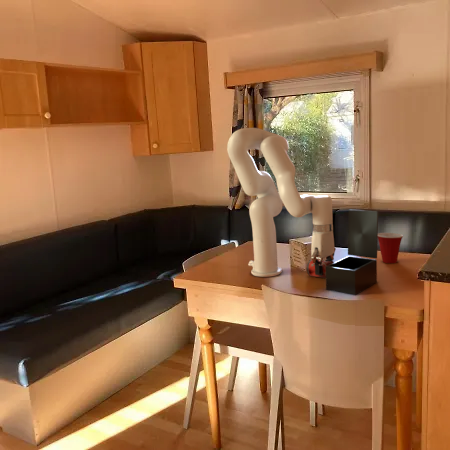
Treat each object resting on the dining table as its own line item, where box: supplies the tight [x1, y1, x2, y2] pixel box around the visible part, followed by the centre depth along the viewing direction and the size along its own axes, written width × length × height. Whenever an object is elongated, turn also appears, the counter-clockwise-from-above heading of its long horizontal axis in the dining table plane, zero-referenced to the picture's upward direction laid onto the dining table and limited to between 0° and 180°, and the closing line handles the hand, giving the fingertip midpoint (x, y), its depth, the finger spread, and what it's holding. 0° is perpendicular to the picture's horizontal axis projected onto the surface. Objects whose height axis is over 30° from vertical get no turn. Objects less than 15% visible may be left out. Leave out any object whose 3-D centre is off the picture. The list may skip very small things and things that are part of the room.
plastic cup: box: [378, 232, 404, 264], centre depth 209 cm, size 11×11×12 cm
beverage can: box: [306, 259, 335, 279], centre depth 194 cm, size 7×12×7 cm, turn 51°
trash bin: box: [325, 255, 378, 296], centre depth 182 cm, size 17×12×9 cm
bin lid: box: [347, 209, 379, 259], centre depth 186 cm, size 17×12×1 cm
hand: (324, 272), depth 194 cm, fingers closed on beverage can, 7 cm apart
